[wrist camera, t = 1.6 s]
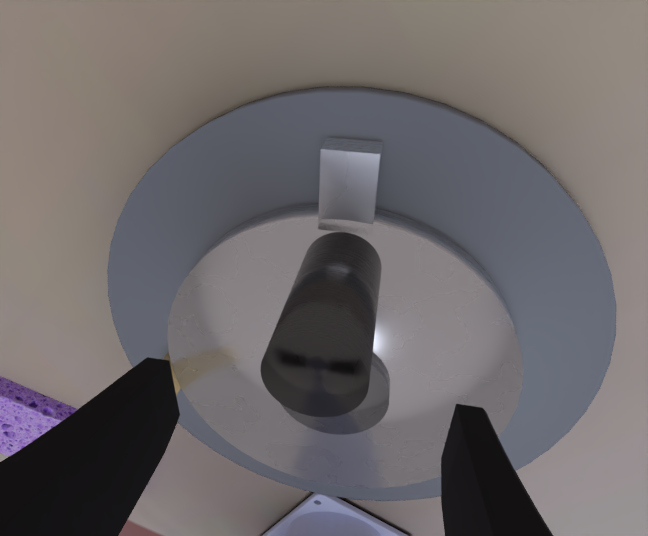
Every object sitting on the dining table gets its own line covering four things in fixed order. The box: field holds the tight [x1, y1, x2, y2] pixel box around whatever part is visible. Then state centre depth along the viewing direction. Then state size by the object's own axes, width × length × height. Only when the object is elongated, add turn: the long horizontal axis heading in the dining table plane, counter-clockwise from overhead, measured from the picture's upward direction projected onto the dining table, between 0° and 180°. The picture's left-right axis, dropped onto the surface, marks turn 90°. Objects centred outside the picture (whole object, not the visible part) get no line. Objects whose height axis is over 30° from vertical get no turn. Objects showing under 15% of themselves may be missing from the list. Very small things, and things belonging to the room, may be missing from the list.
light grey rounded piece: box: [167, 137, 523, 488], centre depth 18 cm, size 18×16×8 cm
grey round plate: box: [108, 87, 616, 501], centre depth 21 cm, size 24×24×4 cm
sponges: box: [0, 377, 78, 456], centre depth 32 cm, size 7×13×2 cm, turn 67°
